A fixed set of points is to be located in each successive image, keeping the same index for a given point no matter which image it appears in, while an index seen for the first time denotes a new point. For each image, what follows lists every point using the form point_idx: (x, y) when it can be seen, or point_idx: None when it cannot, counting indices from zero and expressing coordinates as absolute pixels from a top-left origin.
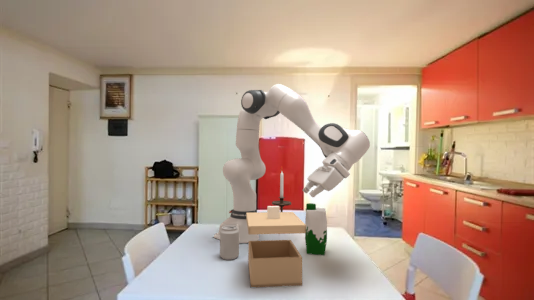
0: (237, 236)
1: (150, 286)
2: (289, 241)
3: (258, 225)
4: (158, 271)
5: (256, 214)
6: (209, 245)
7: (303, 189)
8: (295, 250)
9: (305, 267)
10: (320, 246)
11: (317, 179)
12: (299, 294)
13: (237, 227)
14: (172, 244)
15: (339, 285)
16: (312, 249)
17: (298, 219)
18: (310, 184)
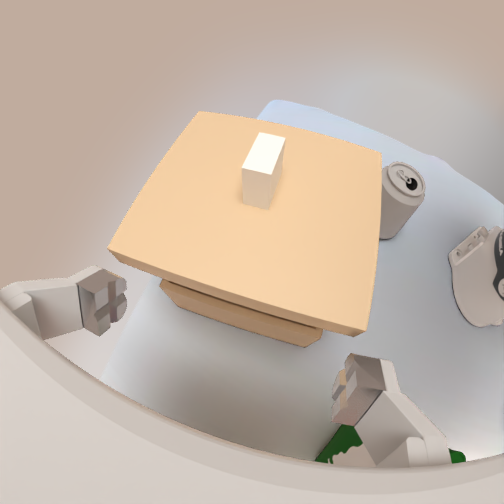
0: (386, 202)
1: (285, 114)
2: (308, 327)
3: (191, 127)
4: (332, 124)
5: (346, 164)
6: (441, 208)
7: (371, 358)
8: (215, 299)
9: (260, 370)
10: (325, 457)
11: (16, 366)
12: (152, 281)
13: (405, 192)
14: (440, 160)
15: (142, 380)
16: (338, 435)
17: (193, 270)
18: (388, 459)
